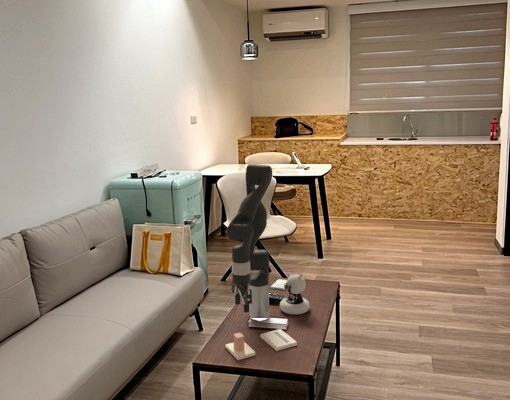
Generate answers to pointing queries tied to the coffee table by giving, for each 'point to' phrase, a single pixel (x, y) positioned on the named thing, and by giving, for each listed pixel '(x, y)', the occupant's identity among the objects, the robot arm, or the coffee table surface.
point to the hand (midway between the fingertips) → (242, 308)
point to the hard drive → (279, 284)
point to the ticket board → (278, 339)
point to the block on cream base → (239, 347)
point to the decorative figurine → (295, 296)
